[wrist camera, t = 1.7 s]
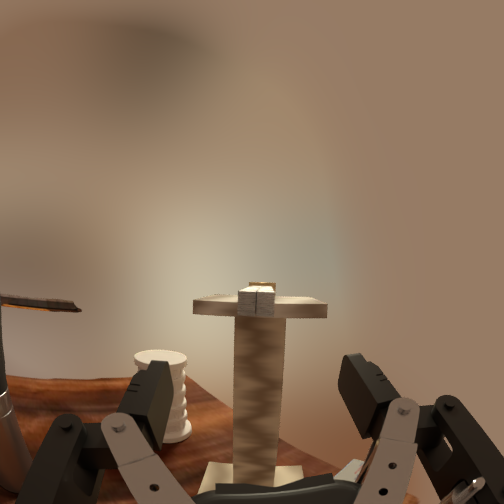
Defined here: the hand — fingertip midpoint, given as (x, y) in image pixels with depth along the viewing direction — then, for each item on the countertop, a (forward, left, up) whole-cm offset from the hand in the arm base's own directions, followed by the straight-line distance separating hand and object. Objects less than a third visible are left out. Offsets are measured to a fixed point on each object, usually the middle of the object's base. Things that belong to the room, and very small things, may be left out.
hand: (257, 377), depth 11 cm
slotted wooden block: (0, +17, +2) cm, 17 cm away
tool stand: (0, +20, -30) cm, 36 cm away
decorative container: (-20, +38, -30) cm, 53 cm away
